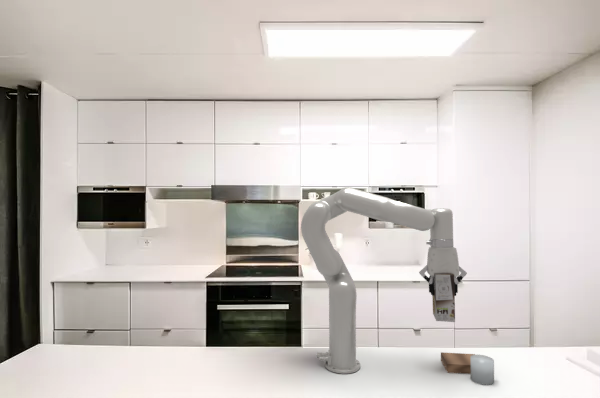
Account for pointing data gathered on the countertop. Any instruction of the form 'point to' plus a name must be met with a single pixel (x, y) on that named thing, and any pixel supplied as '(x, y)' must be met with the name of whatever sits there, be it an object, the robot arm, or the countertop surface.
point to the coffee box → (444, 297)
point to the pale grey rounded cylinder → (482, 369)
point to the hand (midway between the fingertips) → (443, 294)
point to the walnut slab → (457, 362)
